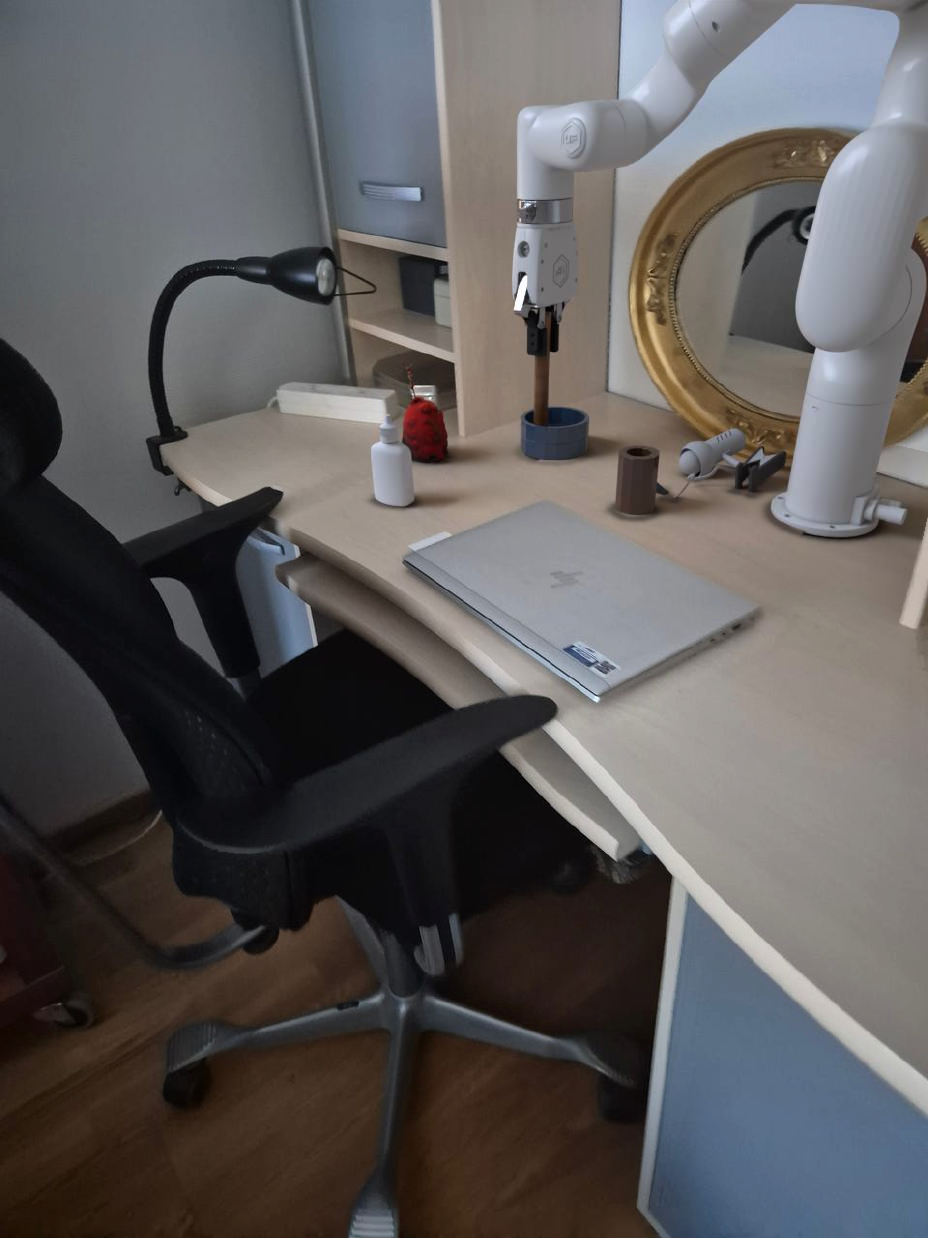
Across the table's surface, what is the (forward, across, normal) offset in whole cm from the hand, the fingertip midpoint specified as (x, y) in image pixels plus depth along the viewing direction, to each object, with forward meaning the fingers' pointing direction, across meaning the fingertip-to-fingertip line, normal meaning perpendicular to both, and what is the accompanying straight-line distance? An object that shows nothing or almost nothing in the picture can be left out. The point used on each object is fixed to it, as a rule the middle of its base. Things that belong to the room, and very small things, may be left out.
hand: (542, 352), depth 118 cm
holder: (+15, -12, -23) cm, 30 cm away
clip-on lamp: (+15, +1, -27) cm, 31 cm away
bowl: (+15, 0, -2) cm, 15 cm away
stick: (+12, 0, 0) cm, 12 cm away
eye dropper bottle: (+15, -28, +5) cm, 32 cm away
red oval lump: (+15, -13, +13) cm, 23 cm away
